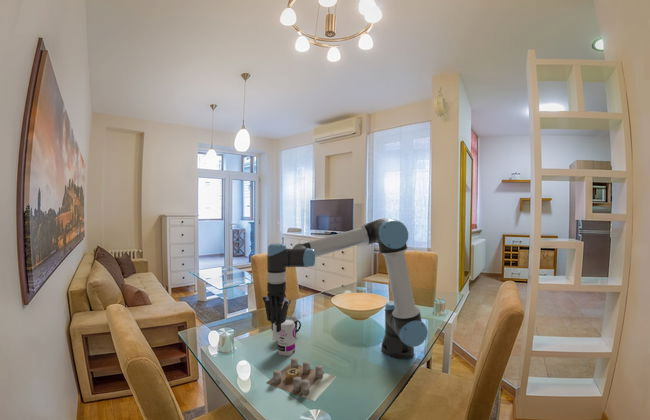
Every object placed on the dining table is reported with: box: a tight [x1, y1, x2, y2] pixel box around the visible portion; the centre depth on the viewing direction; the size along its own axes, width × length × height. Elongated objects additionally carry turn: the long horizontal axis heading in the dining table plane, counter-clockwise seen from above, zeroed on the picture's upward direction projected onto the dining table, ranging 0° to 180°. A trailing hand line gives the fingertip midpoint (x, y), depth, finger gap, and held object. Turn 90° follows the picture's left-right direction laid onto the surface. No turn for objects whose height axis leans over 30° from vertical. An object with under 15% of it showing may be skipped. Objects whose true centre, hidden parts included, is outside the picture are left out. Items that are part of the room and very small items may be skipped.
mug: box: [286, 315, 302, 338], centre depth 154 cm, size 12×9×10 cm
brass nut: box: [286, 368, 299, 381], centre depth 116 cm, size 4×5×3 cm
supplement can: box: [277, 319, 296, 357], centre depth 137 cm, size 8×8×15 cm
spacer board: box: [266, 357, 337, 402], centre depth 115 cm, size 22×17×5 cm
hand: (276, 338), depth 120 cm, fingers closed
